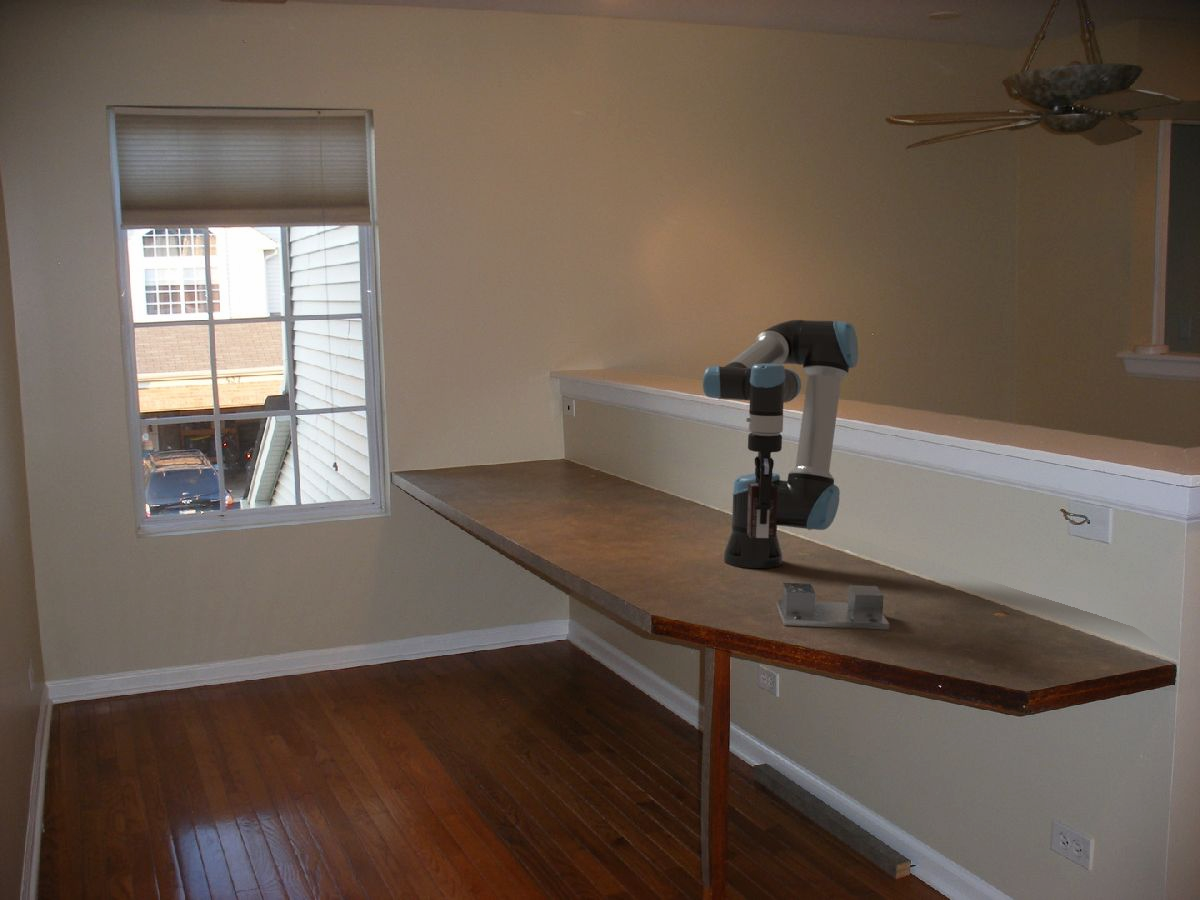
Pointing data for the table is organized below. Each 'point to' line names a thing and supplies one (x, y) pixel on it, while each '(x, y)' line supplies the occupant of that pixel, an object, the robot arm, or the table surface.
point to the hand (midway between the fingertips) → (761, 534)
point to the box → (752, 512)
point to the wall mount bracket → (832, 608)
